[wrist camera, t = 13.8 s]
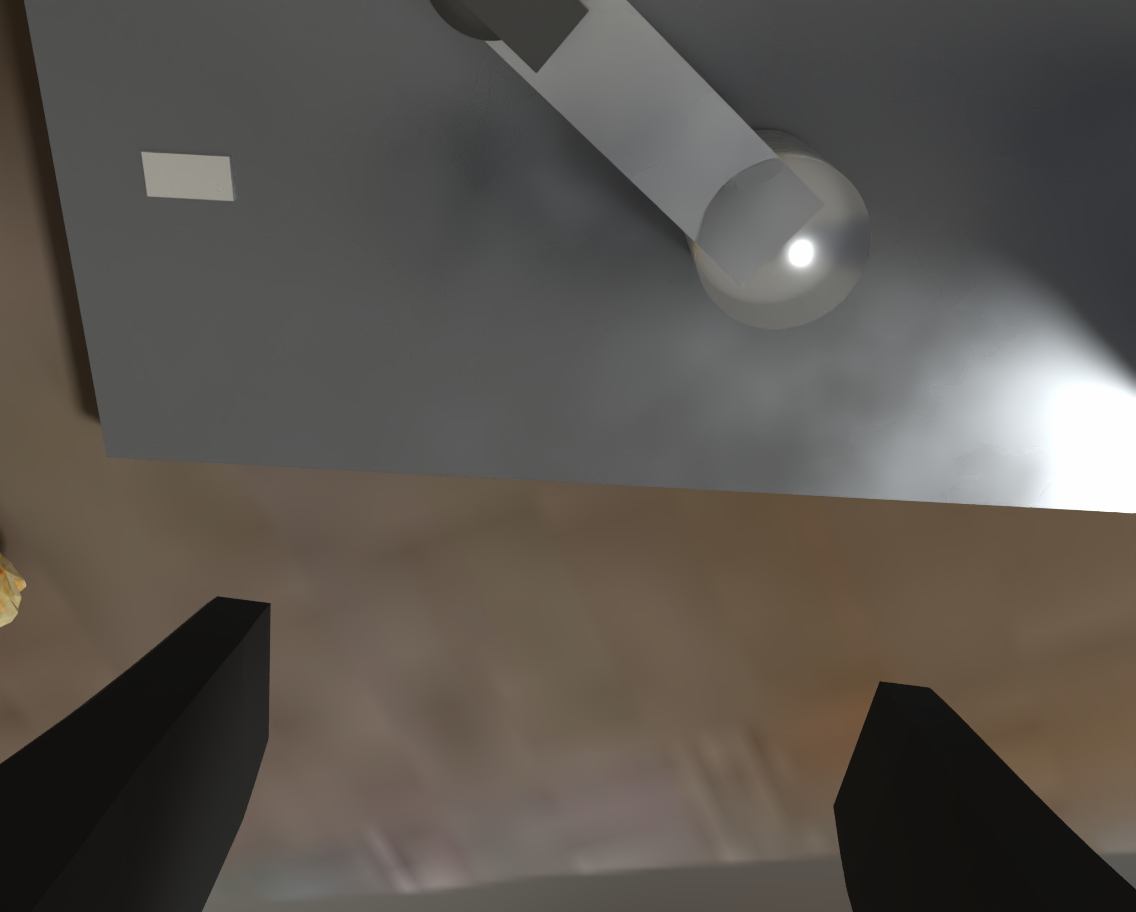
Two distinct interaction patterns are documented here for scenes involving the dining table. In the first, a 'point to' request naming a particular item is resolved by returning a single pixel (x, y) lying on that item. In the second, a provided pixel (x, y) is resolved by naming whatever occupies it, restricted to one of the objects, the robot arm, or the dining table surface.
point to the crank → (689, 154)
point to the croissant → (9, 590)
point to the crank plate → (600, 250)
